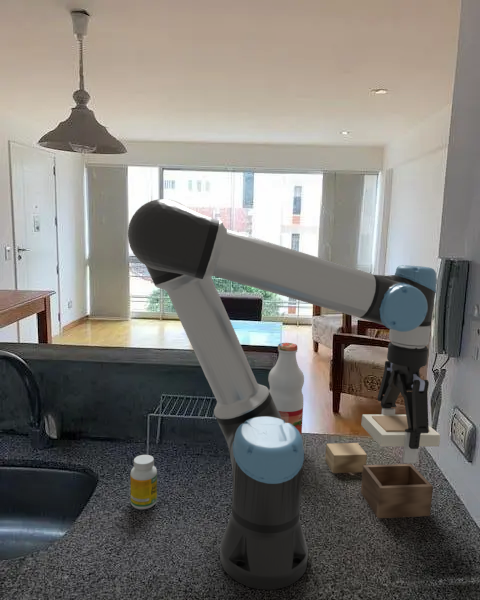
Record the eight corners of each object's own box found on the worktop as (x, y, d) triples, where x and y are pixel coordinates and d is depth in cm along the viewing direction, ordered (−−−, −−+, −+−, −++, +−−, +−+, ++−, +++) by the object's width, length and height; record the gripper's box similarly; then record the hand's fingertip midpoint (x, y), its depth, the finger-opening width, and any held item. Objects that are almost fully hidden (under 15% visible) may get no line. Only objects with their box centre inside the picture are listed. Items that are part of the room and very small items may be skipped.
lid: (380, 446, 89) (382, 433, 89) (361, 425, 99) (362, 413, 99) (439, 446, 91) (440, 433, 90) (414, 425, 101) (415, 413, 100)
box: (377, 520, 92) (380, 488, 91) (360, 495, 101) (362, 465, 100) (429, 518, 94) (433, 486, 93) (408, 493, 102) (411, 463, 101)
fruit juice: (265, 439, 127) (270, 339, 123) (300, 442, 126) (306, 341, 122) (263, 455, 117) (268, 348, 113) (301, 458, 116) (307, 350, 112)
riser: (332, 475, 109) (334, 455, 108) (325, 462, 115) (326, 443, 114) (365, 474, 110) (366, 454, 109) (356, 461, 116) (357, 442, 115)
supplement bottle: (133, 495, 98) (133, 452, 97) (158, 495, 99) (158, 452, 97) (128, 510, 93) (127, 465, 92) (154, 510, 93) (155, 465, 92)
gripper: (459, 360, 81) (444, 477, 85) (400, 331, 104) (390, 426, 107) (419, 359, 81) (405, 478, 84) (368, 330, 103) (358, 426, 106)
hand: (396, 449), depth 95 cm, fingers closed on lid, 10 cm apart
